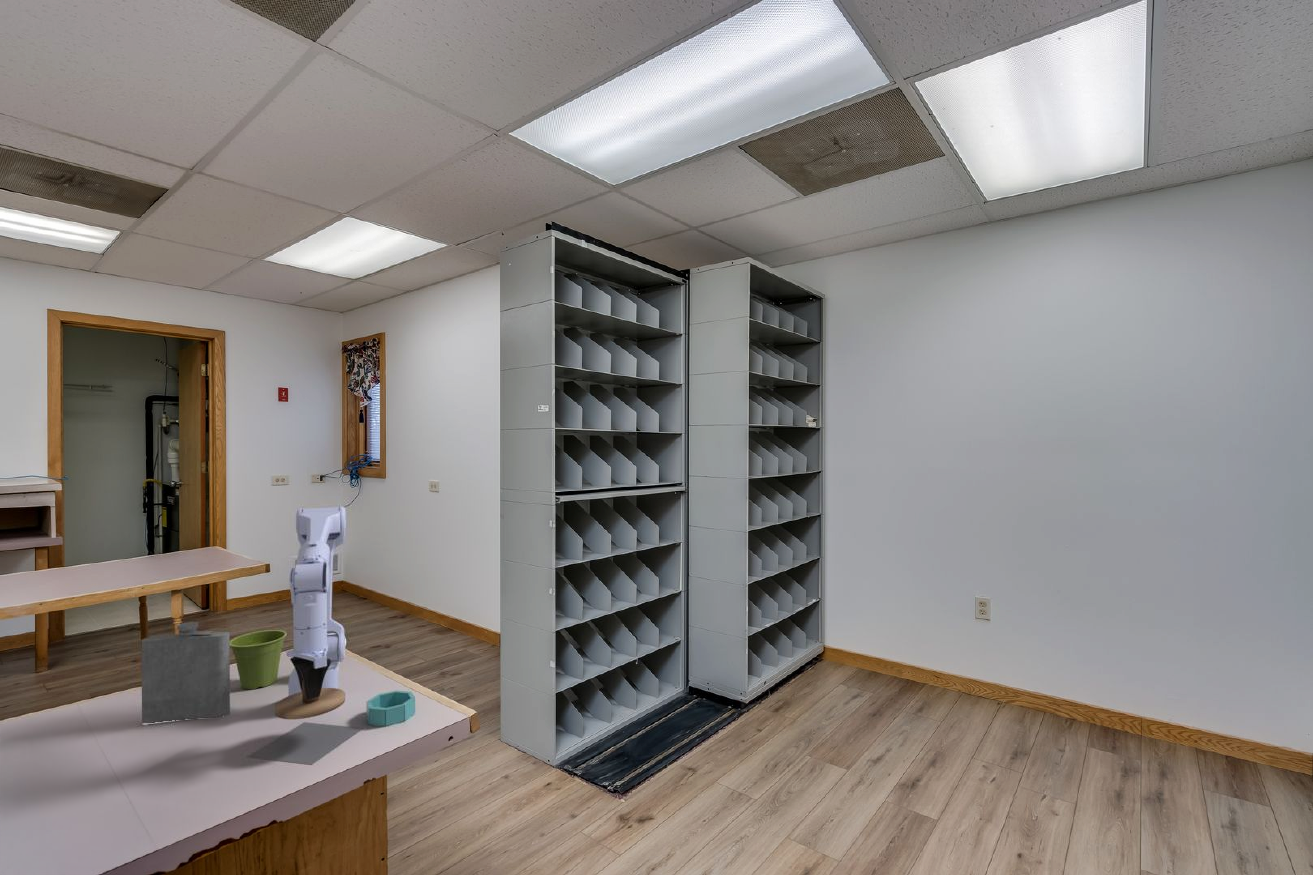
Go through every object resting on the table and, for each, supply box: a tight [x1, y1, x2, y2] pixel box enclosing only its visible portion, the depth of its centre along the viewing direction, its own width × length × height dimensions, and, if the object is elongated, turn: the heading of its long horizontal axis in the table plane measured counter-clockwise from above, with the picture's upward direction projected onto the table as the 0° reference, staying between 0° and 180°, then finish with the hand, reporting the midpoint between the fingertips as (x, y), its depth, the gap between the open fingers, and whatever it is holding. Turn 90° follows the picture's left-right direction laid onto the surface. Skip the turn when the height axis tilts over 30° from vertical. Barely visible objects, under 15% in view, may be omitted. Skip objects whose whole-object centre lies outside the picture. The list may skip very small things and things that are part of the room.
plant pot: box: [230, 629, 288, 690], centre depth 148 cm, size 12×12×11 cm
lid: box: [273, 681, 346, 720], centre depth 119 cm, size 12×12×5 cm
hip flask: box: [140, 621, 231, 724], centre depth 130 cm, size 16×4×20 cm, turn 104°
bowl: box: [365, 690, 416, 727], centre depth 129 cm, size 9×9×4 cm
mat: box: [246, 722, 364, 766], centre depth 118 cm, size 14×14×1 cm
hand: (310, 694), depth 119 cm, fingers closed on lid, 3 cm apart
